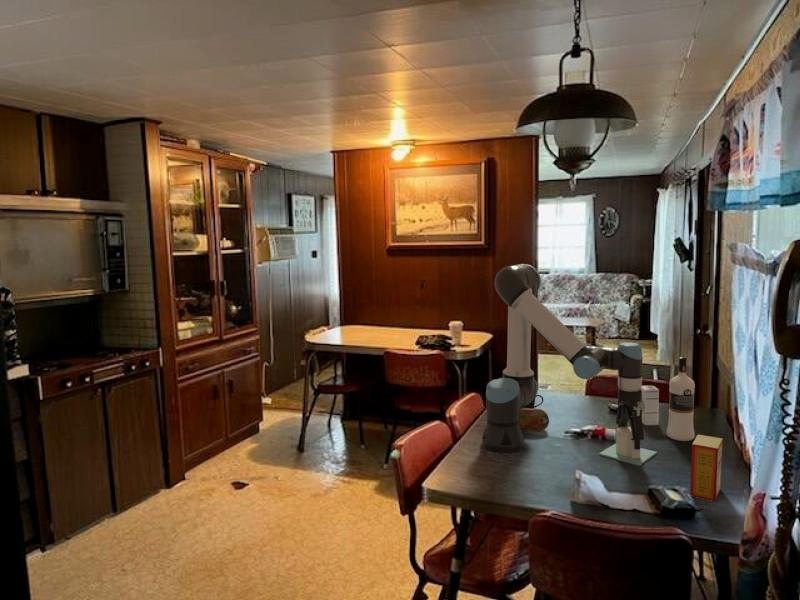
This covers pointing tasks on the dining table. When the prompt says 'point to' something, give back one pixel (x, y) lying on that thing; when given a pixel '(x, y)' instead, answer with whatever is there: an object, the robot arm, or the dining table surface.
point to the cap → (623, 441)
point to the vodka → (681, 405)
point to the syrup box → (649, 405)
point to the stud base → (613, 454)
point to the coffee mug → (531, 405)
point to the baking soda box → (706, 467)
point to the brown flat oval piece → (533, 419)
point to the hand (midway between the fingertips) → (629, 451)
